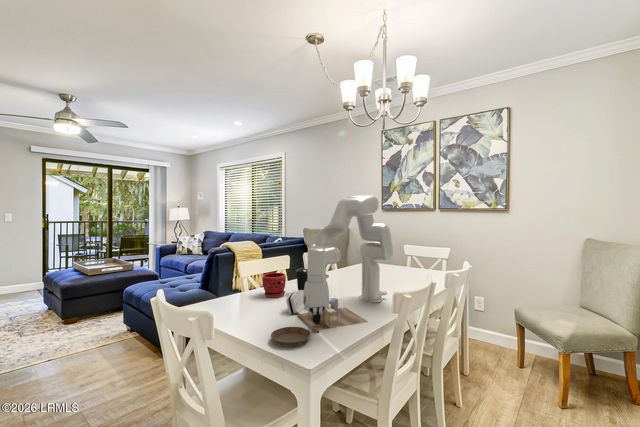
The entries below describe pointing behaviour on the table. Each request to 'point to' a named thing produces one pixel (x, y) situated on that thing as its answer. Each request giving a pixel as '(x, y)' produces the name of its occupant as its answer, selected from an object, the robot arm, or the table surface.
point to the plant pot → (274, 284)
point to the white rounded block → (295, 302)
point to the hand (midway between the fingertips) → (316, 323)
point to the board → (343, 319)
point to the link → (327, 316)
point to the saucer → (290, 336)
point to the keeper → (334, 304)
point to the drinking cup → (301, 277)
